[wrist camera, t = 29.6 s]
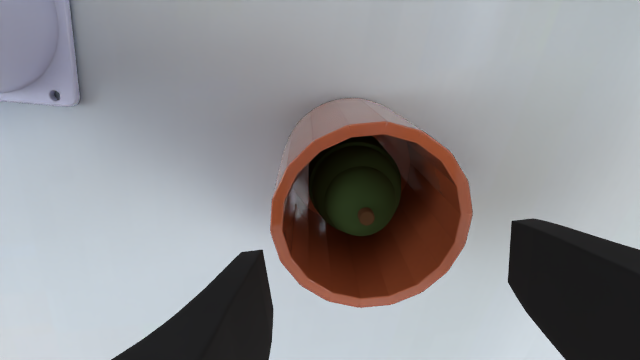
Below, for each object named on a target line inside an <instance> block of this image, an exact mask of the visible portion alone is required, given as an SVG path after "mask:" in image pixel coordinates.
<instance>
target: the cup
mask: <svg viewBox="0 0 640 360" xmlns="http://www.w3.org/2000/svg"><path fill="white" fill-rule="evenodd" d="M362 136H373V137H374V138H375V139H376V140H378V141H379V143H380V144H381V145H382V146H383V147H384V149H385V150H386V151H387V152H388V153H389V154H390V156H391V157H392V158H393V159H394V161H395V163H396V164H397V166H398V169H399V172H400V176H401V197H400V202H399V205H398V208H397V210H396V212H395V213H394V215H393V217H392V219H391V220H390V222H389V223H388V224H387V225H386V226H385V227H384V228H383V229H382V230H380V231H378V232H377V233H374V234H372V235H368V236H354V235H350V234H347V233H345V232H342V231H339V230H337V229H335V228H334V227H332V226H331V225H329V224H328V223H327V222H326V221H325V220H324V219H323V218H322V217H321V215H320V214H319V213H318V212H317V210H316V209H315V208H314V206H313V204H312V201H311V198H310V194H309V162H310V161H311V160H312V159H313V158H315V157H316V156H317V155H318V154H319V153H320V152H321V151H323V150H325V149H327V148H329V147H332V146H334V145H336V144H338V143H340V142H343V141H345V140H347V139H349V138H351V137H362ZM472 213H473V211H472V204H471V197H470V190H469V182H468V179H467V178H466V176H465V174H464V173H463V171H462V169H461V168H460V166H459V164H458V163H457V161H456V159H455V158H454V156H453V154H452V153H451V152H450V151H449V150H448V149H447V148H445V147H444V146H443V145H441V144H440V143H439V142H437V141H436V140H435V139H433V138H432V137H430V136H429V135H428V134H426V133H425V132H424V131H422V130H421V129H419V128H418V127H416V126H415V125H413V124H411V123H410V122H408V121H407V120H405V119H404V118H402V117H401V116H399V115H398V114H396V113H395V112H393V111H391V110H390V109H388V108H387V107H385V106H383V105H381V104H378V103H376V102H373V101H369V100H365V99H359V98H344V99H337V100H333V101H330V102H327V103H325V104H322V105H320V106H318V107H317V108H315V109H313V110H312V111H310V112H309V113H308V114H306V115H305V116H304V117H303V118H302V119H301V120H300V121H299V123H298V124H297V125H296V126H295V128H294V129H293V131H292V133H291V134H290V136H289V139H288V141H287V144H286V146H285V149H284V151H283V155H282V159H281V164H280V168H279V172H278V176H277V180H276V185H275V189H274V193H273V197H272V206H271V224H270V231H271V236H272V238H273V241H274V244H275V247H276V250H277V253H278V256H279V259H280V261H281V263H282V264H283V265H284V266H285V268H286V269H287V270H288V271H289V272H290V273H291V275H292V276H293V277H294V278H295V279H296V281H297V282H298V283H299V284H300V285H301V286H302V287H304V288H306V289H308V290H309V291H311V292H313V293H314V294H316V295H318V296H320V297H321V298H323V299H325V300H327V301H329V302H334V303H339V304H344V305H348V306H353V307H360V308H362V307H373V306H383V305H391V304H395V303H397V302H400V301H402V300H405V299H407V298H410V297H412V296H415V295H417V294H420V293H421V292H423V291H424V290H426V289H427V288H428V287H429V286H431V285H432V284H433V283H434V282H436V281H437V280H438V279H439V278H441V277H442V276H443V275H444V274H446V273H447V271H448V270H449V269H450V267H451V266H452V264H453V263H454V261H455V260H456V258H457V257H458V255H459V254H460V252H461V251H462V249H463V248H464V246H465V244H466V240H467V236H468V231H469V227H470V223H471V219H472Z"/></svg>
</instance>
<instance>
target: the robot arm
mask: <svg viewBox="0 0 640 360" xmlns="http://www.w3.org/2000/svg"><path fill="white" fill-rule="evenodd" d="M55 91H57V92H58V93H59V94H60V100H58V99H57V98H56V97H55V95H54V93H55ZM0 101H5V102H17V103H29V104H41V105H52V106H64V107H70V106H75V105H76V104H78V102H79V101H80V93H79V84H78V75H77V66H76V57H75V48H74V39H73V30H72V21H71V12H70V3H69V0H0ZM508 283H509V285H510V287H511V288H512V290H513V292H514V293H515V295H516V297H517V298H518V300H519V301H520V303H521V305H522V306H523V308H524V309H525V311H526V312H527V313H528V315H529V316H530V317H531V318H532V320H533V321H534V322H535V323H536V325H537V326H538V327H539V328H540V329H541V331H542V332H543V333H544V334H545V336H546V337H547V338H548V339H549V340H550V342H551V343H552V344H553V345H554V346H555V348H556V349H557V350H558V351H559V352H560V354H561V355H562V356H563V357H564V358H565V359H566V360H640V250H638V249H635V248H632V247H628V246H625V245H622V244H618V243H615V242H612V241H609V240H606V239H602V238H599V237H596V236H593V235H590V234H587V233H583V232H580V231H577V230H574V229H571V228H568V227H564V226H561V225H558V224H554V223H550V222H547V221H543V220H538V219H525V220H517V221H512V225H511V241H510V257H509V273H508ZM272 328H273V305H272V299H271V294H270V288H269V283H268V277H267V271H266V266H265V260H264V255H263V250H256V251H248V252H241V253H240V254H239V255H238V256H237V257H236V258H235V259H234V260H233V261H232V262H231V263H230V264H229V265H228V266H227V267H226V268H225V269H224V270H223V271H222V272H221V273H220V274H219V275H218V276H217V277H216V278H215V279H214V280H213V281H212V282H211V283H210V284H209V285H208V286H207V287H206V288H205V289H204V290H203V291H202V292H200V293H199V294H198V295H197V296H196V297H195V298H194V299H193V300H191V301H190V302H189V303H188V304H187V305H186V306H185V307H184V308H182V309H181V310H180V311H179V312H178V313H177V314H175V315H174V316H173V317H172V318H171V319H169V320H168V321H167V322H165V323H164V324H163V325H162V326H160V327H159V328H157V329H156V330H155V331H153V332H152V333H151V334H149V335H148V336H147V337H145V338H144V339H142V340H141V341H140V342H138V343H137V344H135V345H133V346H132V347H130V348H129V349H127V350H126V351H124V352H122V353H121V354H119V355H118V356H116V357H115V358H113V359H112V360H269V354H270V348H271V342H272Z"/></svg>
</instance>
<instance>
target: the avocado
mask: <svg viewBox="0 0 640 360" xmlns="http://www.w3.org/2000/svg"><path fill="white" fill-rule="evenodd" d="M309 194H310V198H311V201H312V204H313V206H314V208H315V209H316V210H317V212H318V213H319V214H320V215H321V217H322V218H323V219H324V220H325V221H326V222H327V223H328V224H329V225H331V226H332V227H334V228H335V229H337V230H339V231H342V232H345V233H347V234H350V235H354V236H368V235H372V234H374V233H377V232H378V231H380V230H382V229H383V228H384V227H385V226H386V225H387V224H388V223H389V222H390V220H391V219H392V217H393V215H394V213H395V212H396V210H397V208H398V205H399V202H400V197H401V176H400V172H399V169H398V166H397V164H396V163H395V161H394V159H393V158H392V157H391V156H390V154H389V153H388V152H387V151H386V150H385V149H384V147H383V146H382V145H381V144H380V143H379V141H378V140H376V139H375V138H374V137H373V136H362V137H351V138H349V139H347V140H345V141H343V142H340V143H338V144H336V145H334V146H332V147H329V148H327V149H325V150H323V151H321V152H320V153H319V154H318V155H317V156H316V157H315V158H313V159H312V160H311V161H310V162H309Z"/></svg>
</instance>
